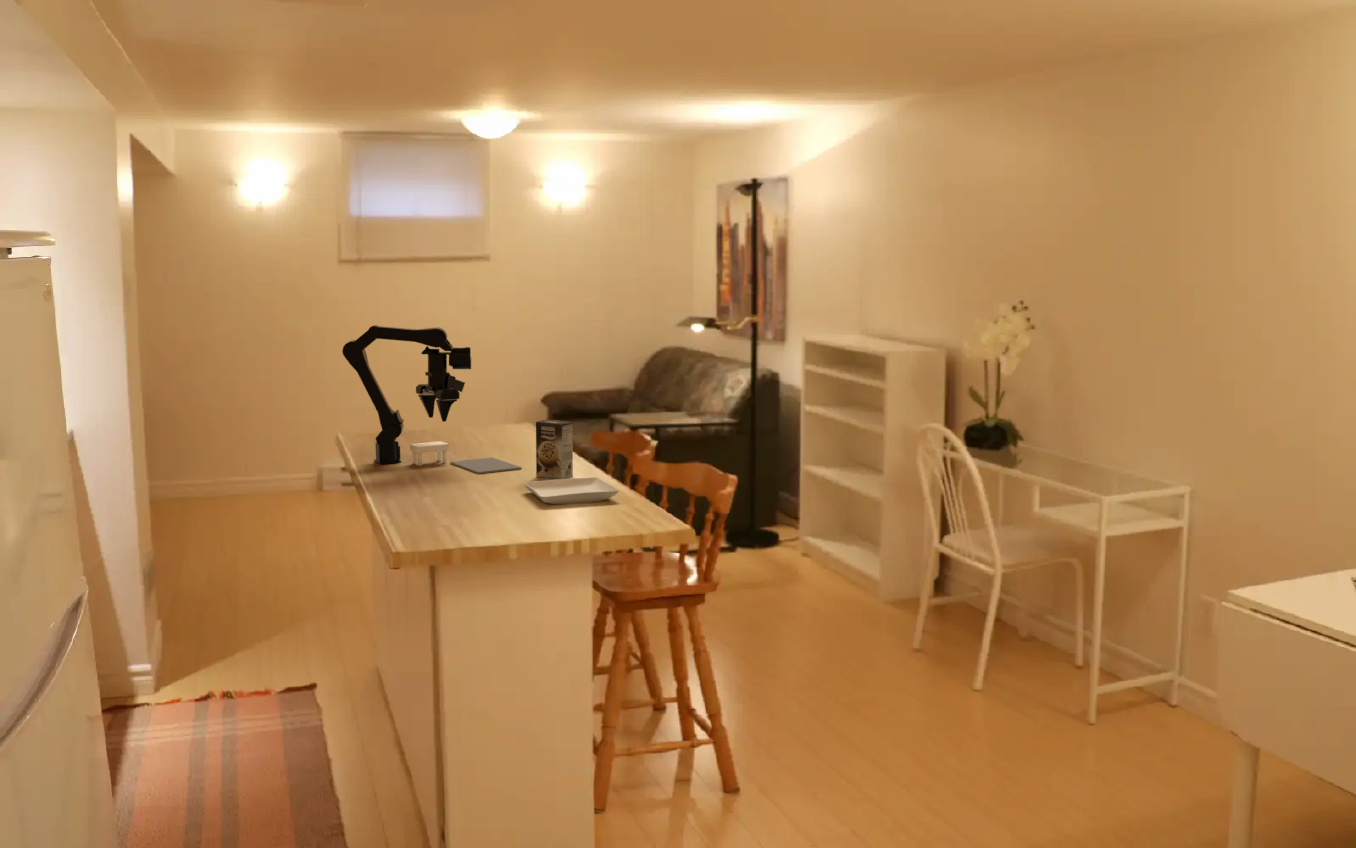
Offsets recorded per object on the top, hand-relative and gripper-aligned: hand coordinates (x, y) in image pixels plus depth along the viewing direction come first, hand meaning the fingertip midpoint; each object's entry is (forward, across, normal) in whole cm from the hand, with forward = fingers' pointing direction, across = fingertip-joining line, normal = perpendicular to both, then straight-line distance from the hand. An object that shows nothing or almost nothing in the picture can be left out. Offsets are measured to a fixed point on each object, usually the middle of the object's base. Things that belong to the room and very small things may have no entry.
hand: (437, 419), depth 367 cm
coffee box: (+12, -42, -17) cm, 47 cm away
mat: (+13, -16, -8) cm, 22 cm away
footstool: (+13, -2, +4) cm, 14 cm away
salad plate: (+13, -68, -6) cm, 70 cm away
